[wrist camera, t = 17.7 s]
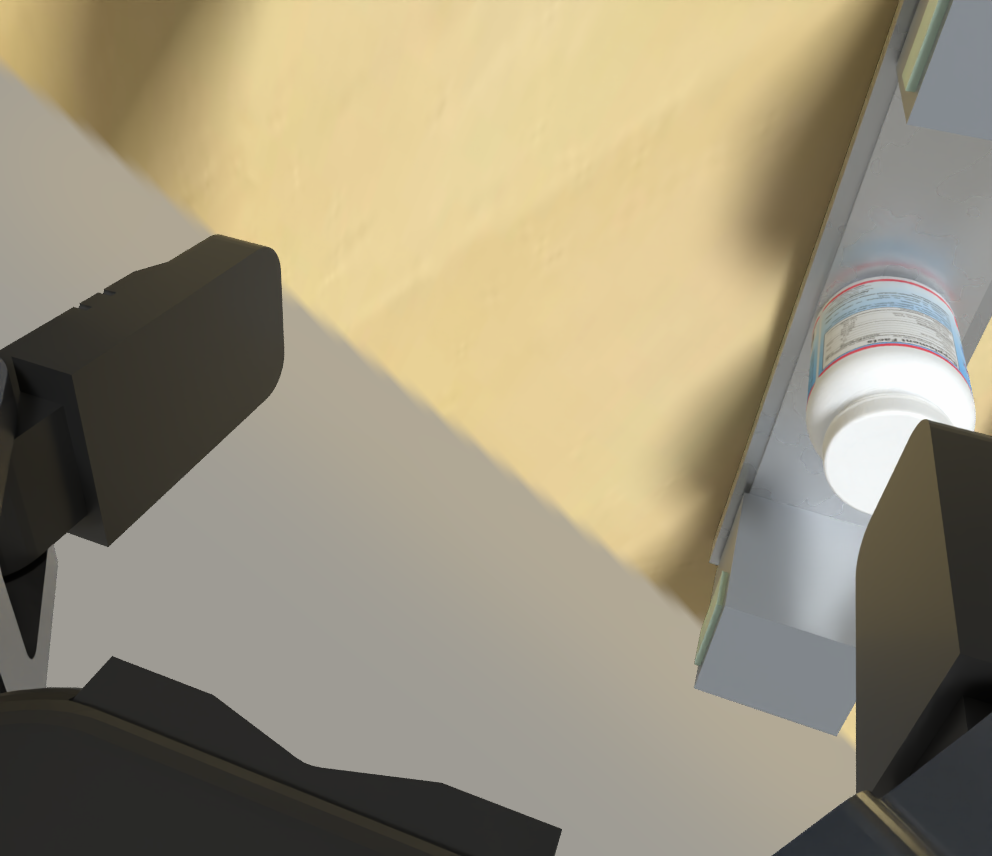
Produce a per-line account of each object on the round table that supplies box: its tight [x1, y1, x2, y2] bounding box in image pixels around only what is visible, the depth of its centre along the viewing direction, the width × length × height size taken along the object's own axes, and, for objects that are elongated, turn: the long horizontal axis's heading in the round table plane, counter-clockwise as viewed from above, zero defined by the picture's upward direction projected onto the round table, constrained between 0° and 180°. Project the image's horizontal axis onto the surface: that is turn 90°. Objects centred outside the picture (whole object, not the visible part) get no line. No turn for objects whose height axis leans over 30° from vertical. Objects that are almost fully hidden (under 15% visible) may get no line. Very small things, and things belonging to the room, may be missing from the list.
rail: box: [709, 0, 992, 565], centre depth 41 cm, size 8×34×2 cm, turn 174°
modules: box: [694, 0, 992, 736], centre depth 36 cm, size 7×34×9 cm, turn 174°
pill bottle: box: [806, 276, 976, 515], centre depth 36 cm, size 6×6×11 cm
